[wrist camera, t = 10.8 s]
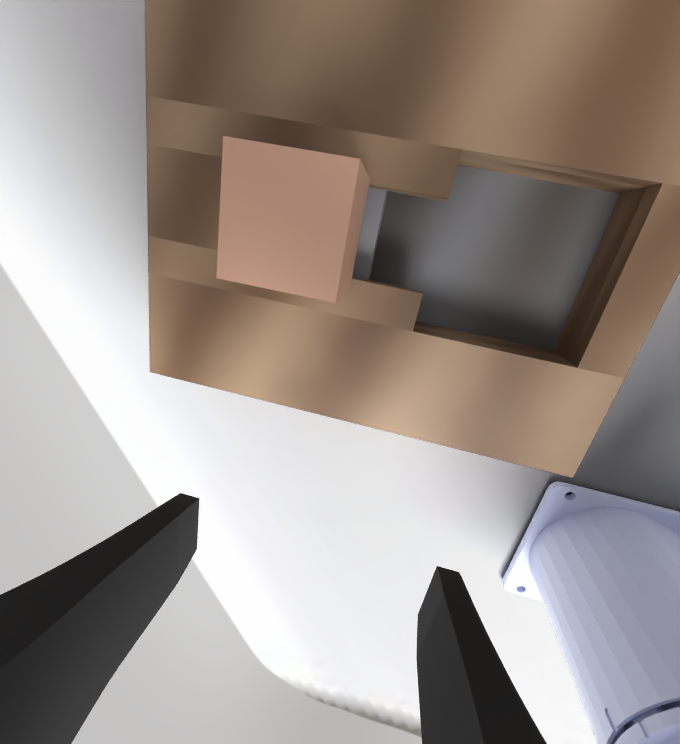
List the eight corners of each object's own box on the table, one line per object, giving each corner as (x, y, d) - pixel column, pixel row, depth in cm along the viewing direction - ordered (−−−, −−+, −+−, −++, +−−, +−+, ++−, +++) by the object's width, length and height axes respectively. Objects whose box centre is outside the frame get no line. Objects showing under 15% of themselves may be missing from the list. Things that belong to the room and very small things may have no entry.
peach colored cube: (390, 179, 15) (382, 140, 9) (366, 297, 17) (347, 321, 11) (277, 159, 15) (207, 112, 10) (265, 276, 17) (201, 290, 12)
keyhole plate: (721, 58, 12) (821, -1, 10) (545, 440, 18) (572, 478, 15) (197, -13, 14) (143, -80, 11) (187, 353, 20) (149, 372, 17)
